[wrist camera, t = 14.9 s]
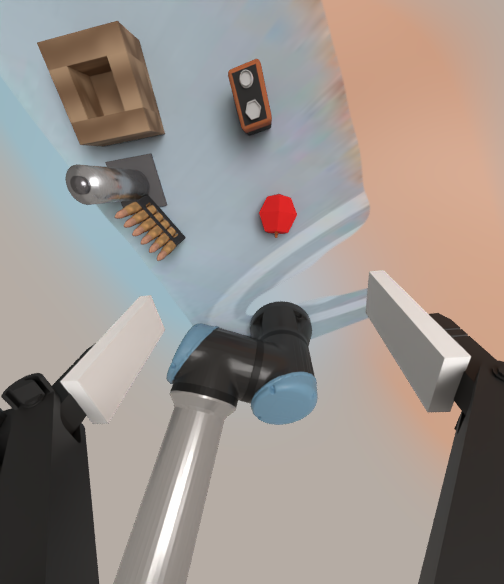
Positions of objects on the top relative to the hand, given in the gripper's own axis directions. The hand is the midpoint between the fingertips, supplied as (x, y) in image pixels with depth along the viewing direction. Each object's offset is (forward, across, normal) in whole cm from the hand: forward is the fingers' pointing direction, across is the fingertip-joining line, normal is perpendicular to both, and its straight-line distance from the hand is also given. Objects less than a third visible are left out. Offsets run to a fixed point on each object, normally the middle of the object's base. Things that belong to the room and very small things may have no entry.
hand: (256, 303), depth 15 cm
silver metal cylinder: (+36, +24, -7) cm, 44 cm away
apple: (+37, -2, +2) cm, 37 cm away
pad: (+37, +24, -7) cm, 44 cm away
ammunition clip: (+37, +21, 0) cm, 42 cm away
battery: (+37, 0, -15) cm, 40 cm away
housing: (+37, +22, -20) cm, 47 cm away
